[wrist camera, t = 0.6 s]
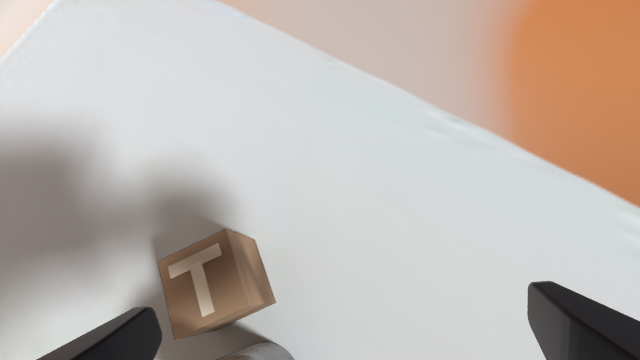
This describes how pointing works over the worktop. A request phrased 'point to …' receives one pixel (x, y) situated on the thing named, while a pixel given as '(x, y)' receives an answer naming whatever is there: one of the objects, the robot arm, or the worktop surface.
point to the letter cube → (214, 283)
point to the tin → (260, 353)
